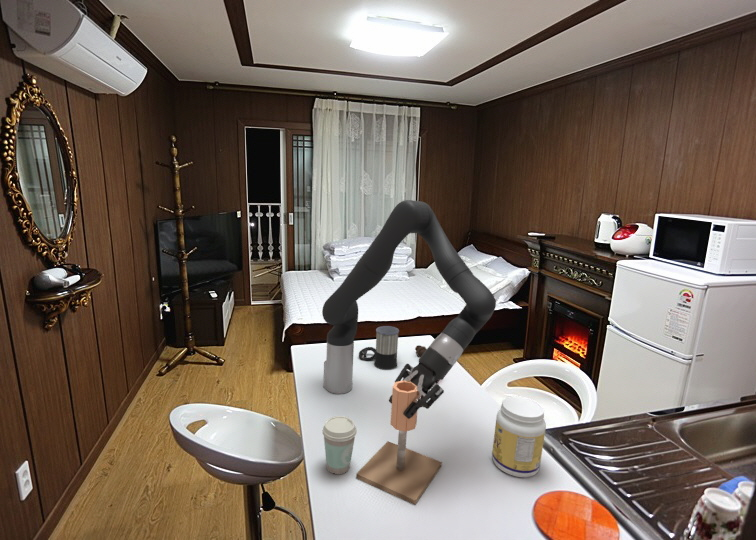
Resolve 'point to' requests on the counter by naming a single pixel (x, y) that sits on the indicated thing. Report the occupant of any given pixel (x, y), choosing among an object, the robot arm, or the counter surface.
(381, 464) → the post
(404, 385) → the collar
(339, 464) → the coffee cup
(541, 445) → the supplement tub
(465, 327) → the robot arm
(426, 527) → the counter surface
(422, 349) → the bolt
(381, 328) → the milk frother
